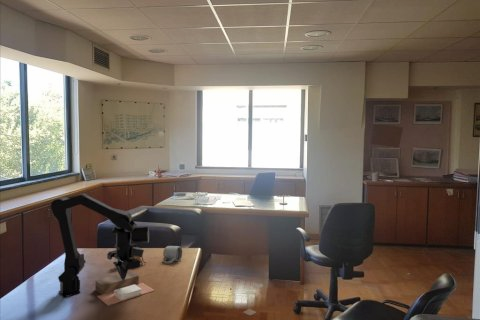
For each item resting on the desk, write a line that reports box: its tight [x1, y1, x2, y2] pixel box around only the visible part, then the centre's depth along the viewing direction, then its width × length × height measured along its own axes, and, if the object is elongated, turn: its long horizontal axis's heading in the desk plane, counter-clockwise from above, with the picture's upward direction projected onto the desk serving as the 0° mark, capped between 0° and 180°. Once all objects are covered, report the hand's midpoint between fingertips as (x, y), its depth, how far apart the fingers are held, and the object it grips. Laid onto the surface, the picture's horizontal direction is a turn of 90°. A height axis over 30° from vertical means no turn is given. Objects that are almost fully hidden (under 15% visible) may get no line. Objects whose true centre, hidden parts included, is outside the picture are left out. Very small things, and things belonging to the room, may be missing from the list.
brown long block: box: [94, 270, 140, 295], centre depth 147 cm, size 16×7×4 cm, turn 134°
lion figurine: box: [131, 255, 147, 267], centre depth 174 cm, size 15×5×9 cm, turn 110°
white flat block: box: [114, 284, 142, 300], centre depth 140 cm, size 9×6×2 cm, turn 134°
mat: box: [97, 282, 155, 306], centre depth 141 cm, size 20×10×1 cm, turn 134°
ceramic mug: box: [162, 245, 183, 265], centre depth 181 cm, size 11×8×8 cm
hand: (123, 279), depth 143 cm, fingers closed
